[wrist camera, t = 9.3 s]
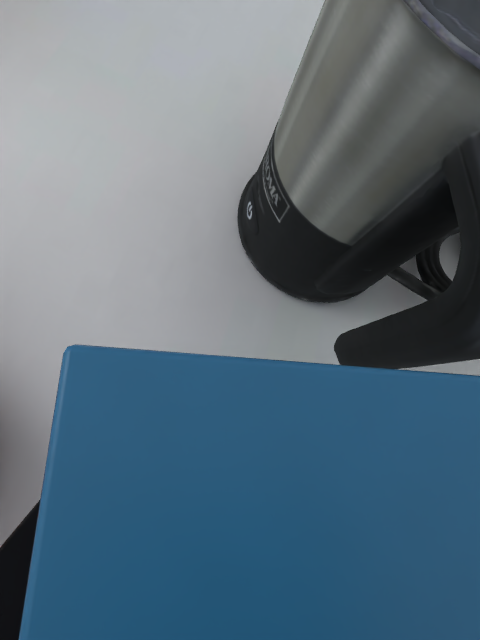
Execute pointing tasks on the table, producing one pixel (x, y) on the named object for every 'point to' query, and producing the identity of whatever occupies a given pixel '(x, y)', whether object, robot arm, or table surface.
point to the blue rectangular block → (256, 502)
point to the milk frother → (378, 176)
